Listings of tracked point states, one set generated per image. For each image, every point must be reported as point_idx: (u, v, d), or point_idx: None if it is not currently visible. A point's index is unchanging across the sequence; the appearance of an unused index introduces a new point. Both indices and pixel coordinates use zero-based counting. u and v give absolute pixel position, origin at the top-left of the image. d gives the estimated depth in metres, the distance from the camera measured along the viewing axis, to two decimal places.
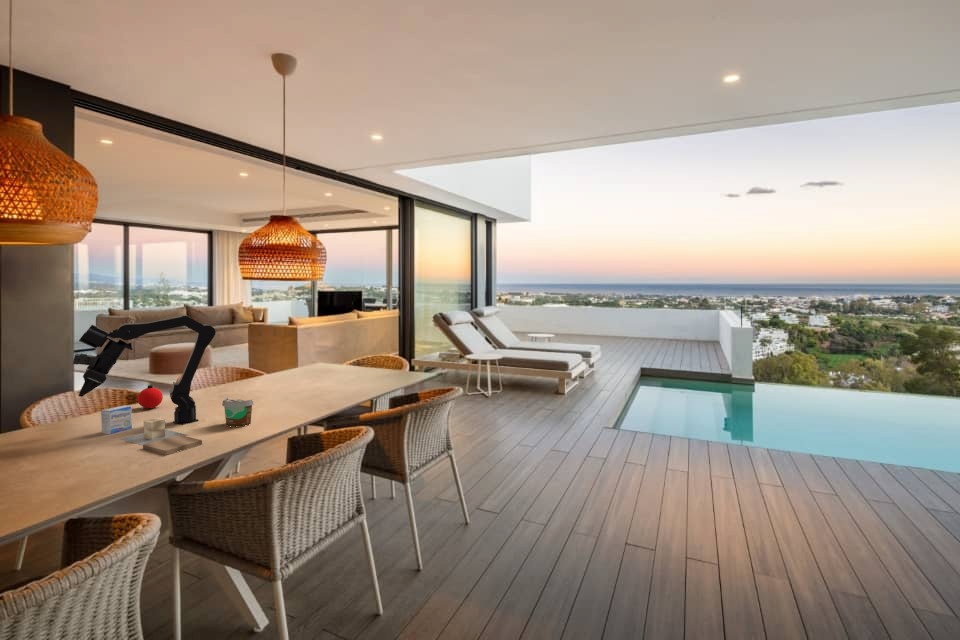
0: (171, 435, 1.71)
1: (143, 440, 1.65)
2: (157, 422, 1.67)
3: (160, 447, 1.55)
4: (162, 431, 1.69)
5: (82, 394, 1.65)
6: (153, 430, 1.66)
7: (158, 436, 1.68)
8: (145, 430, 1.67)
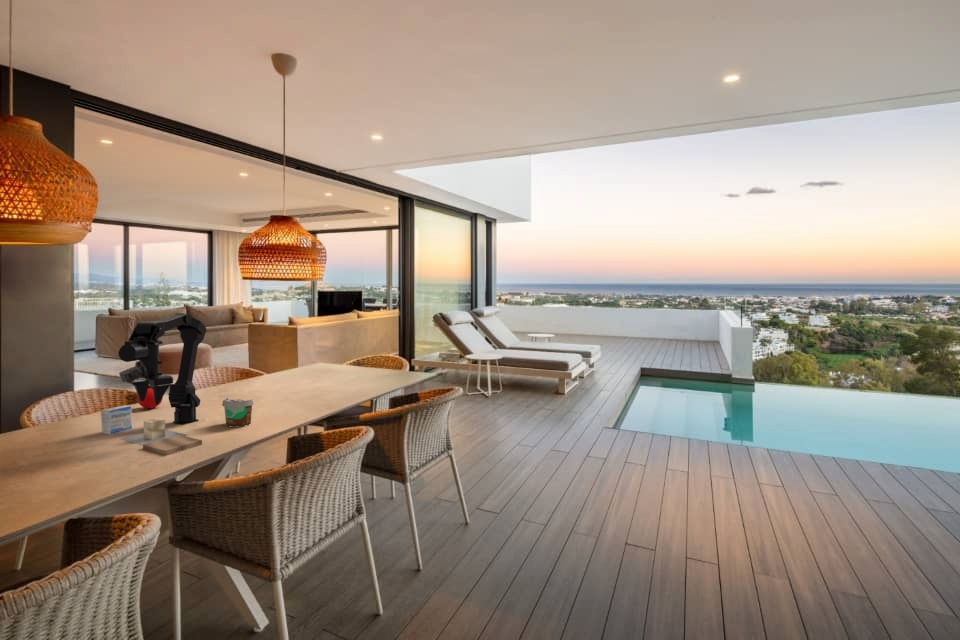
0: (171, 435, 1.71)
1: (143, 440, 1.65)
2: (157, 422, 1.67)
3: (160, 447, 1.55)
4: (162, 431, 1.69)
5: (158, 401, 1.65)
6: (153, 430, 1.66)
7: (158, 436, 1.68)
8: (145, 430, 1.67)
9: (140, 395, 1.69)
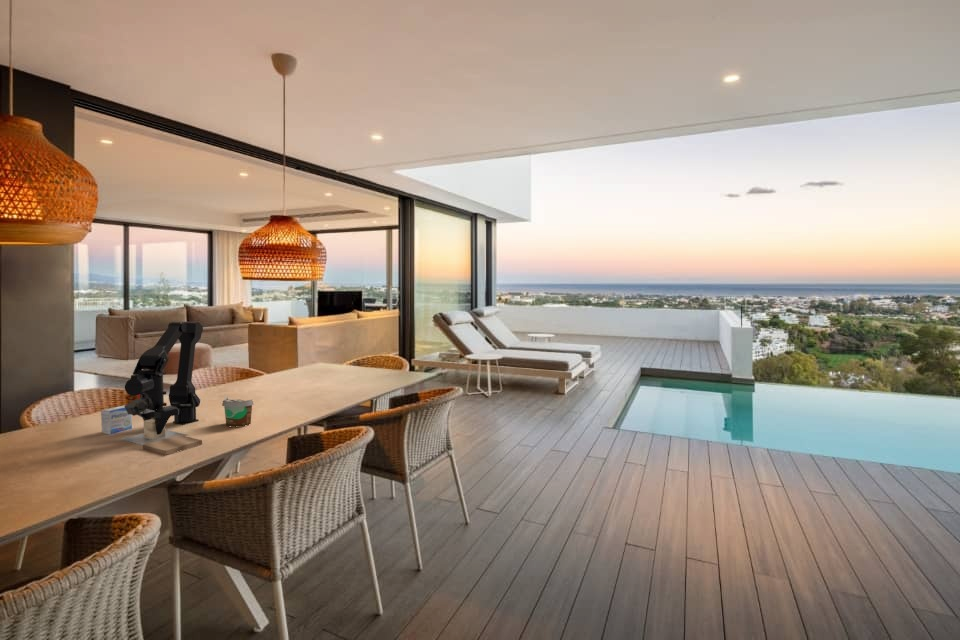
0: (171, 435, 1.71)
1: (143, 440, 1.65)
2: None
3: (160, 447, 1.55)
4: (162, 431, 1.69)
5: (160, 431, 1.68)
6: (153, 430, 1.66)
7: (158, 436, 1.68)
8: (145, 430, 1.67)
9: None
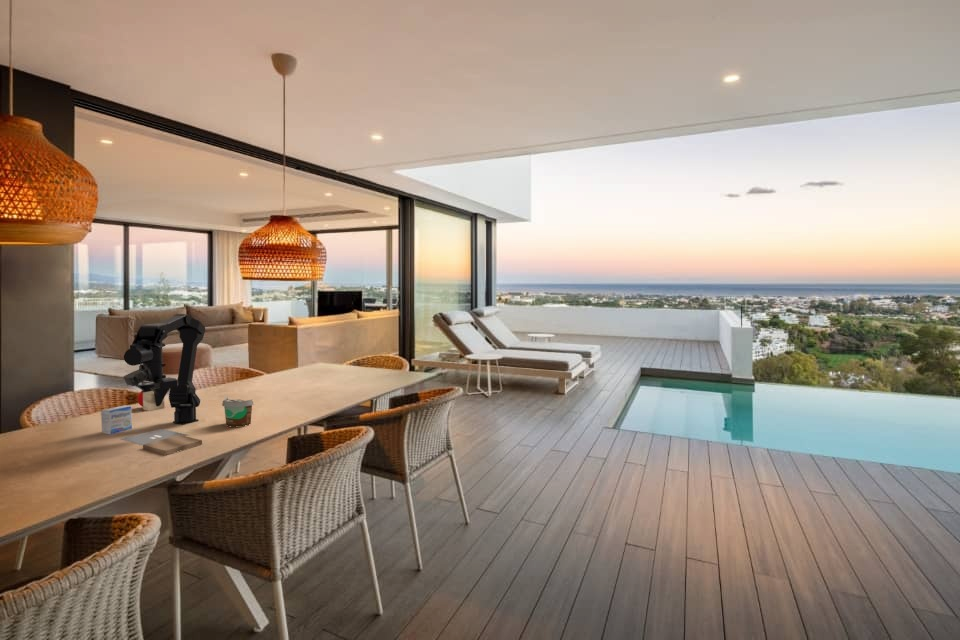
0: (171, 435, 1.71)
1: (143, 440, 1.65)
2: None
3: (160, 447, 1.55)
4: (161, 403, 1.68)
5: (159, 403, 1.67)
6: (152, 401, 1.65)
7: (157, 408, 1.67)
8: (144, 402, 1.67)
9: None
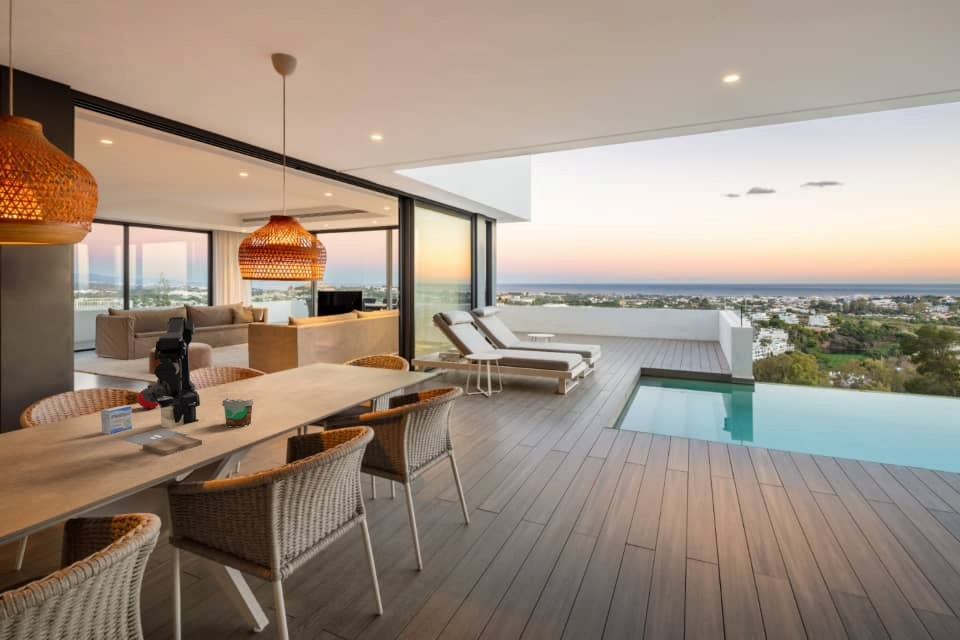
0: (171, 435, 1.71)
1: (143, 440, 1.65)
2: None
3: (160, 447, 1.55)
4: (180, 419, 1.59)
5: (178, 419, 1.58)
6: (170, 417, 1.56)
7: (176, 424, 1.58)
8: (162, 418, 1.58)
9: None
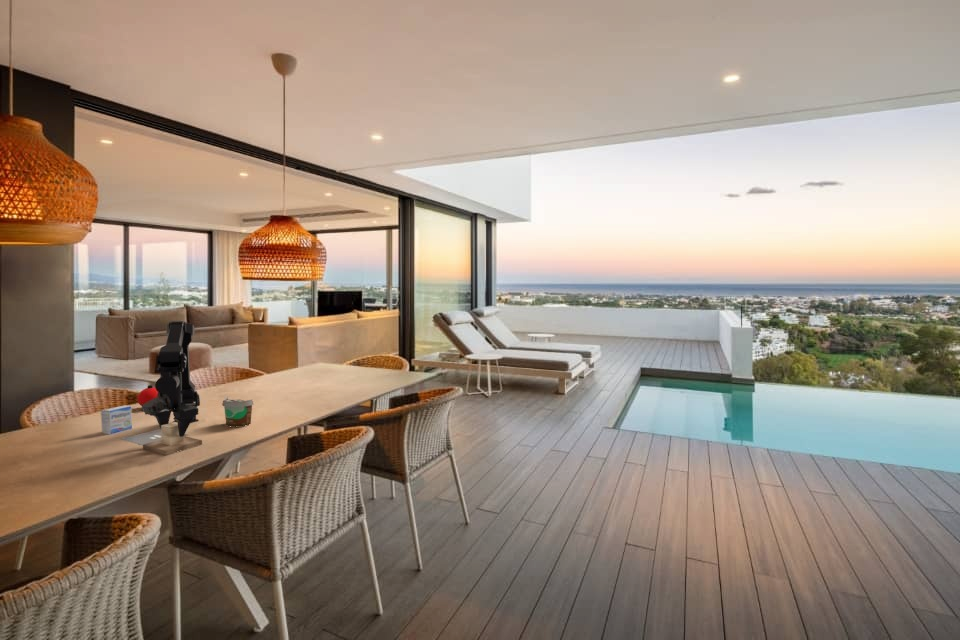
0: None
1: (143, 440, 1.65)
2: (175, 427, 1.58)
3: (160, 447, 1.55)
4: (180, 437, 1.60)
5: (183, 433, 1.58)
6: (171, 435, 1.57)
7: (176, 442, 1.59)
8: (163, 435, 1.58)
9: None
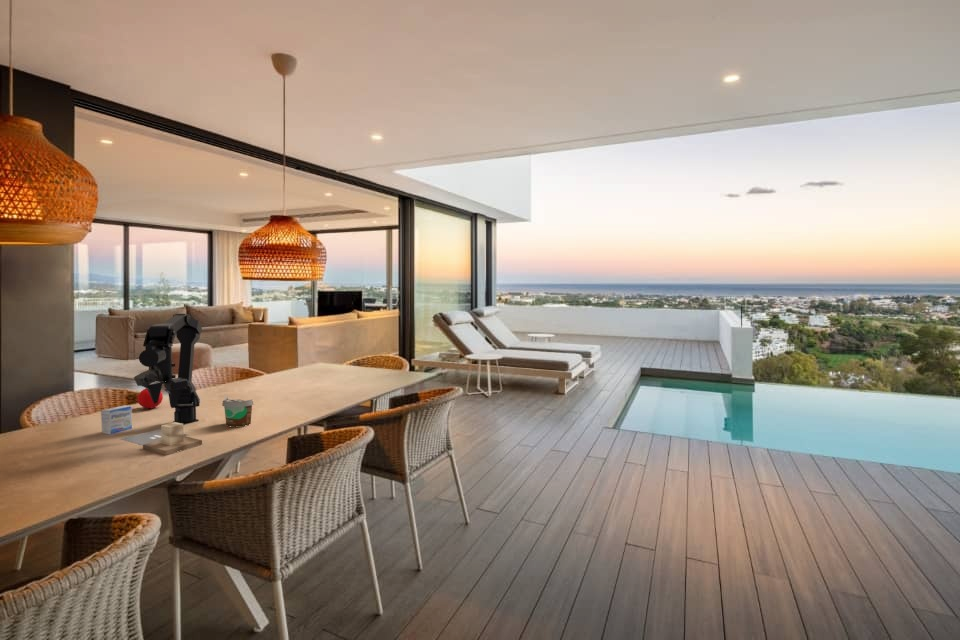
0: None
1: (143, 440, 1.65)
2: (175, 427, 1.58)
3: (160, 447, 1.55)
4: (180, 437, 1.60)
5: (174, 404, 1.66)
6: (171, 435, 1.57)
7: (176, 442, 1.59)
8: (163, 435, 1.58)
9: (154, 398, 1.69)
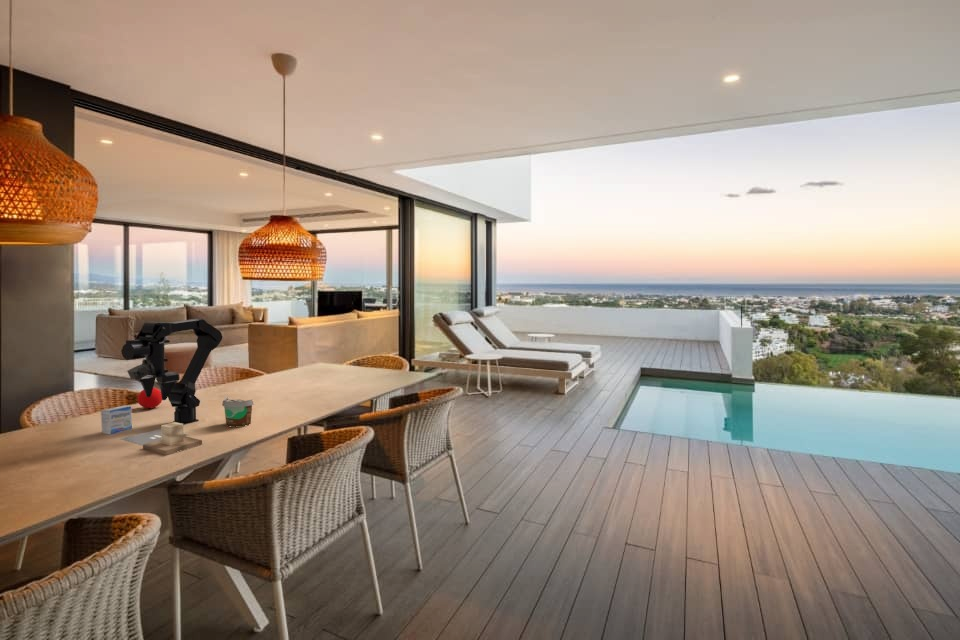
0: None
1: (143, 440, 1.65)
2: (175, 427, 1.58)
3: (160, 447, 1.55)
4: (180, 437, 1.60)
5: (165, 397, 1.74)
6: (171, 435, 1.57)
7: (176, 442, 1.59)
8: (163, 435, 1.58)
9: (147, 391, 1.77)
